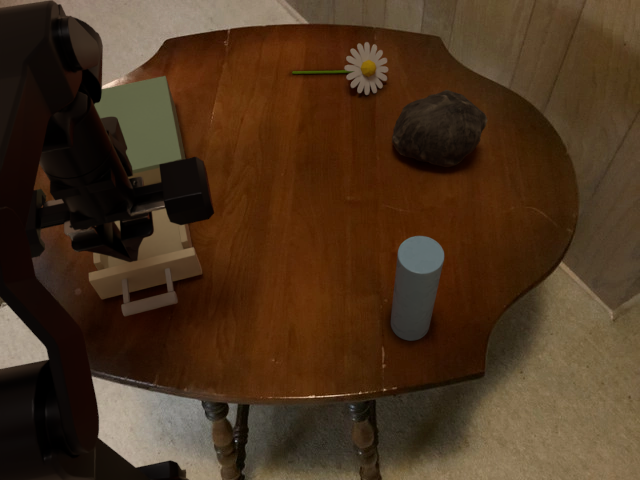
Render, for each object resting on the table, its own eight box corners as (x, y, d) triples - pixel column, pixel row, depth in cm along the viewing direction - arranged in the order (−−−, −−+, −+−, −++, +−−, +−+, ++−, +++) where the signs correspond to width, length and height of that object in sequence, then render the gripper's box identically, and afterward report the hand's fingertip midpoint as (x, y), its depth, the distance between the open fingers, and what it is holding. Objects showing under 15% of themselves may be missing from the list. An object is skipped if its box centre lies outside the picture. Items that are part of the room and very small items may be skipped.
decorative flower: (288, 41, 88) (390, 39, 87) (292, 47, 94) (387, 45, 94) (289, 95, 90) (389, 94, 89) (293, 97, 96) (387, 96, 95)
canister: (400, 346, 67) (409, 279, 55) (384, 313, 69) (390, 243, 58) (436, 333, 67) (452, 264, 56) (419, 301, 70) (431, 230, 59)
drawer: (208, 306, 70) (201, 288, 66) (103, 334, 68) (90, 316, 65) (184, 177, 82) (177, 156, 79) (94, 198, 80) (83, 177, 77)
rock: (380, 128, 86) (396, 75, 77) (452, 120, 88) (475, 68, 80) (401, 184, 81) (421, 134, 72) (477, 174, 83) (504, 125, 75)
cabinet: (191, 188, 82) (181, 158, 77) (92, 211, 80) (76, 182, 75) (175, 106, 92) (165, 75, 87) (87, 125, 90) (72, 95, 85)
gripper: (180, 66, 53) (213, 180, 66) (-35, 107, 52) (41, 216, 64) (195, 155, 47) (228, 261, 60) (-49, 205, 45) (39, 304, 58)
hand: (133, 257), depth 61 cm, fingers closed
